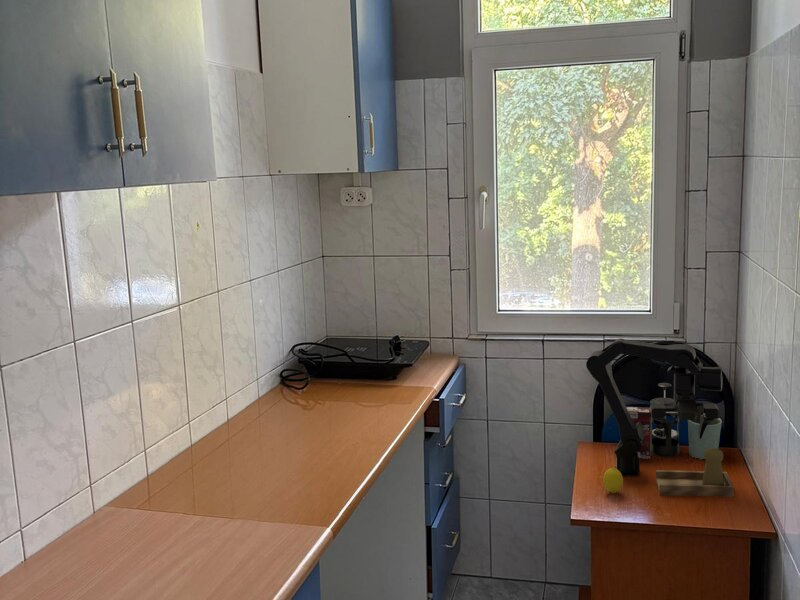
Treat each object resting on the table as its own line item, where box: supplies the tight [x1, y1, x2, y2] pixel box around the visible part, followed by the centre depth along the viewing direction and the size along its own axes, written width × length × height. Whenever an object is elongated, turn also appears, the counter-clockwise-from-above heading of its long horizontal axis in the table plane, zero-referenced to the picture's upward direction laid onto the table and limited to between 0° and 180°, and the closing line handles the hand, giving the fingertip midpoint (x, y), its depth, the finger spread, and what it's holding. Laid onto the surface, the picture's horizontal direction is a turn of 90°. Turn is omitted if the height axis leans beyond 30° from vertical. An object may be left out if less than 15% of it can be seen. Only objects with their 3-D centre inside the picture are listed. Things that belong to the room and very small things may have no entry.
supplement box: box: [626, 406, 651, 460], centre depth 255 cm, size 9×5×16 cm, turn 77°
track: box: [655, 469, 735, 498], centre depth 232 cm, size 20×10×3 cm, turn 79°
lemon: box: [602, 467, 624, 494], centre depth 231 cm, size 6×6×8 cm
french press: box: [649, 382, 681, 458], centre depth 257 cm, size 12×9×23 cm
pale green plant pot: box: [687, 416, 723, 460], centre depth 253 cm, size 10×10×12 cm
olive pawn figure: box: [702, 448, 724, 486], centre depth 230 cm, size 6×6×11 cm
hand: (683, 438), depth 235 cm, fingers open, 9 cm apart
